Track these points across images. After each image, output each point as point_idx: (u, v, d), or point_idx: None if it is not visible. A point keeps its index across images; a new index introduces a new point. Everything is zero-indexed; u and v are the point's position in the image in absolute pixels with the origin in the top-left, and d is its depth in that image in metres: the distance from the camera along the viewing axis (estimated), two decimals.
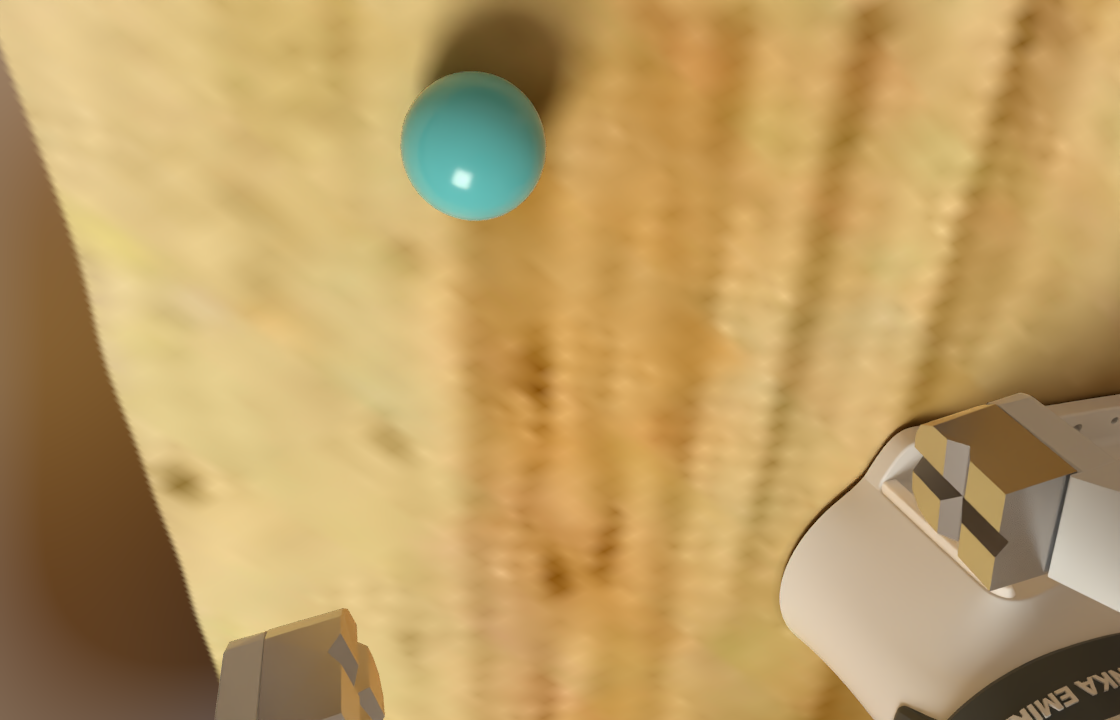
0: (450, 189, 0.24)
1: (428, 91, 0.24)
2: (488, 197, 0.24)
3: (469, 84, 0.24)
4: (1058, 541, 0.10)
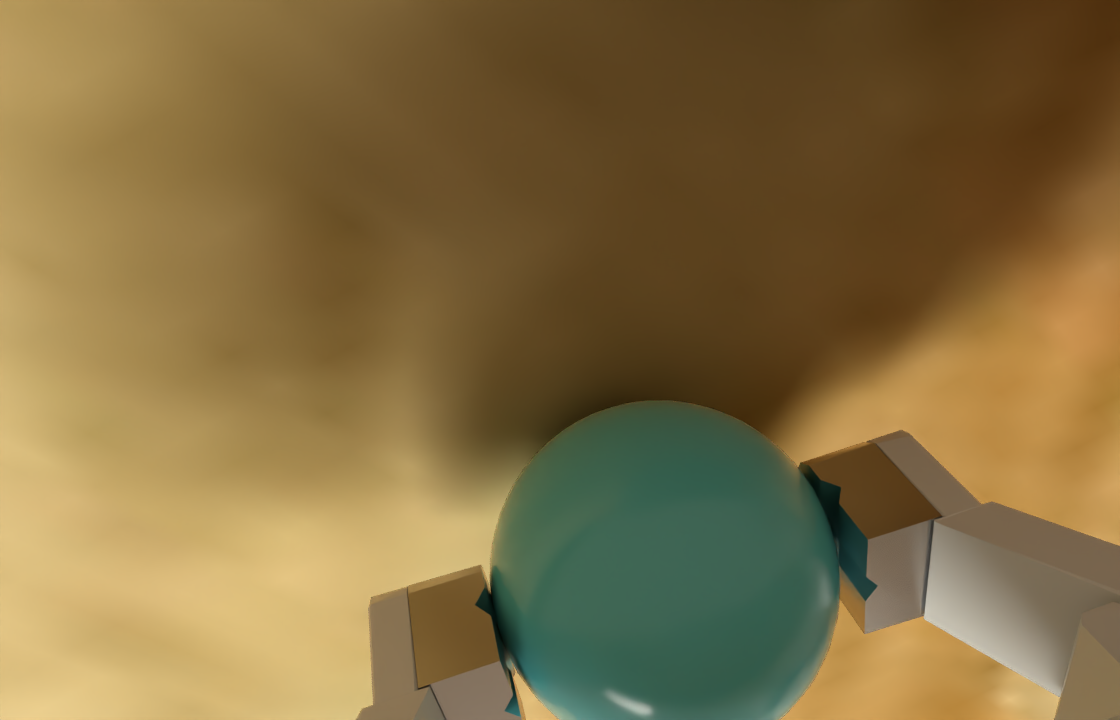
0: None
1: (574, 490, 0.09)
2: None
3: (688, 488, 0.09)
4: (929, 584, 0.10)
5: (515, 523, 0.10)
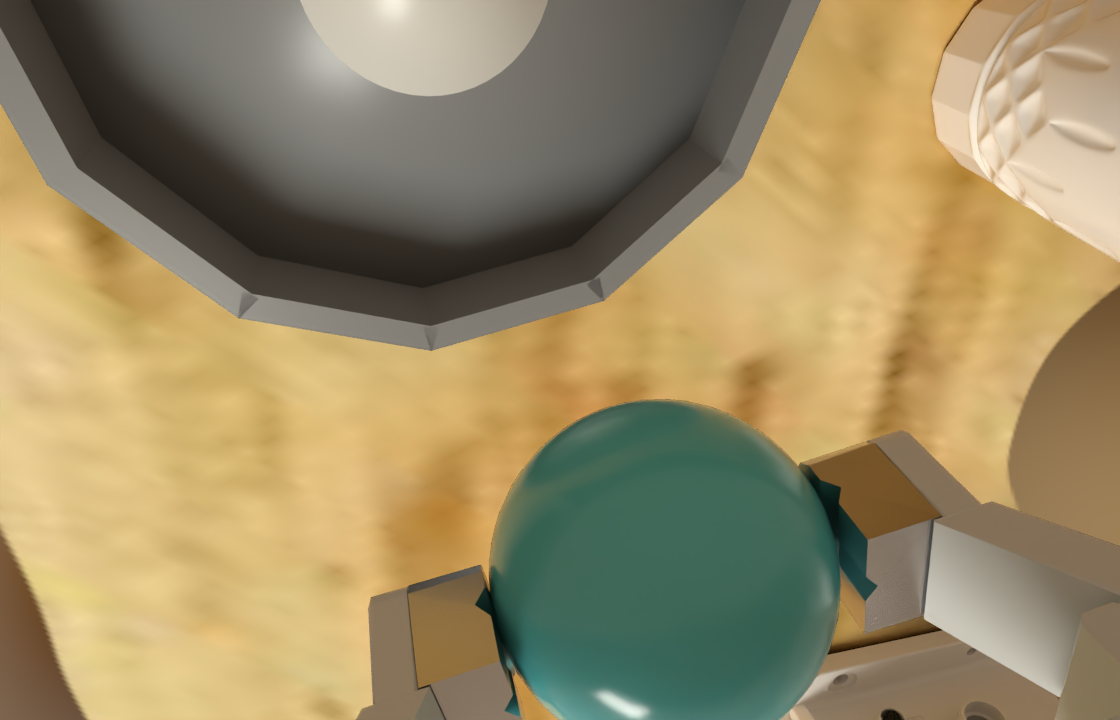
0: None
1: (573, 490, 0.09)
2: None
3: (688, 488, 0.09)
4: (929, 585, 0.10)
5: (514, 523, 0.10)
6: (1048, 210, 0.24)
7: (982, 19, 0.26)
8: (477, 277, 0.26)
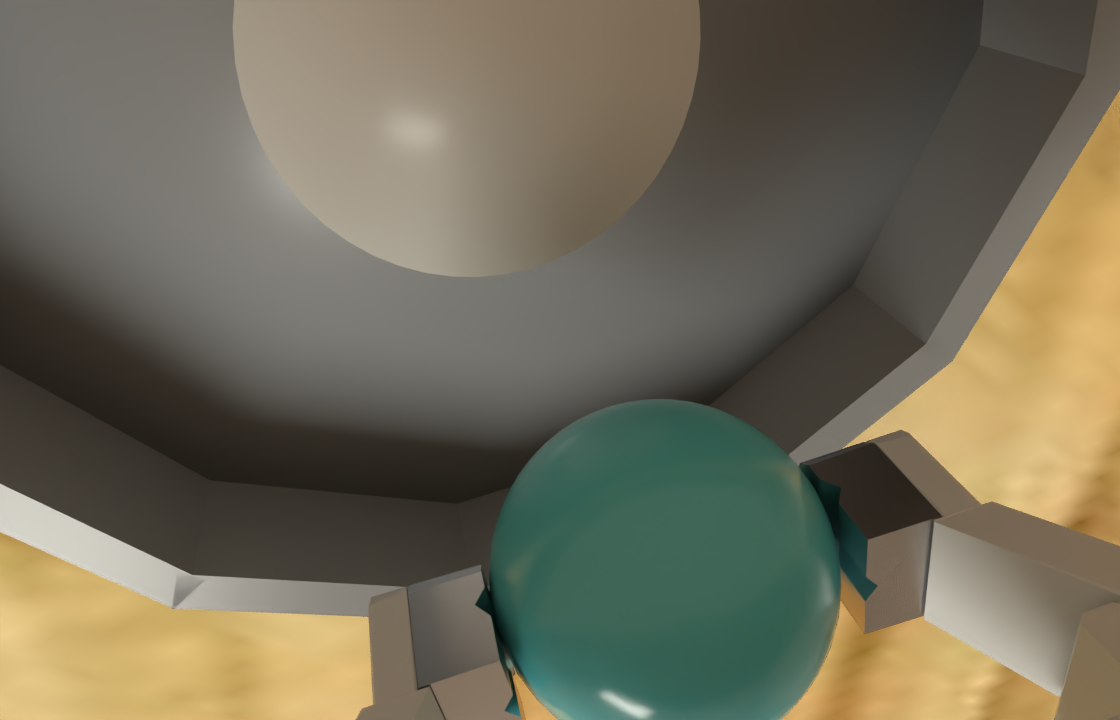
0: None
1: (573, 490, 0.09)
2: None
3: (688, 487, 0.09)
4: (929, 584, 0.10)
5: (514, 523, 0.10)
6: None
7: None
8: None
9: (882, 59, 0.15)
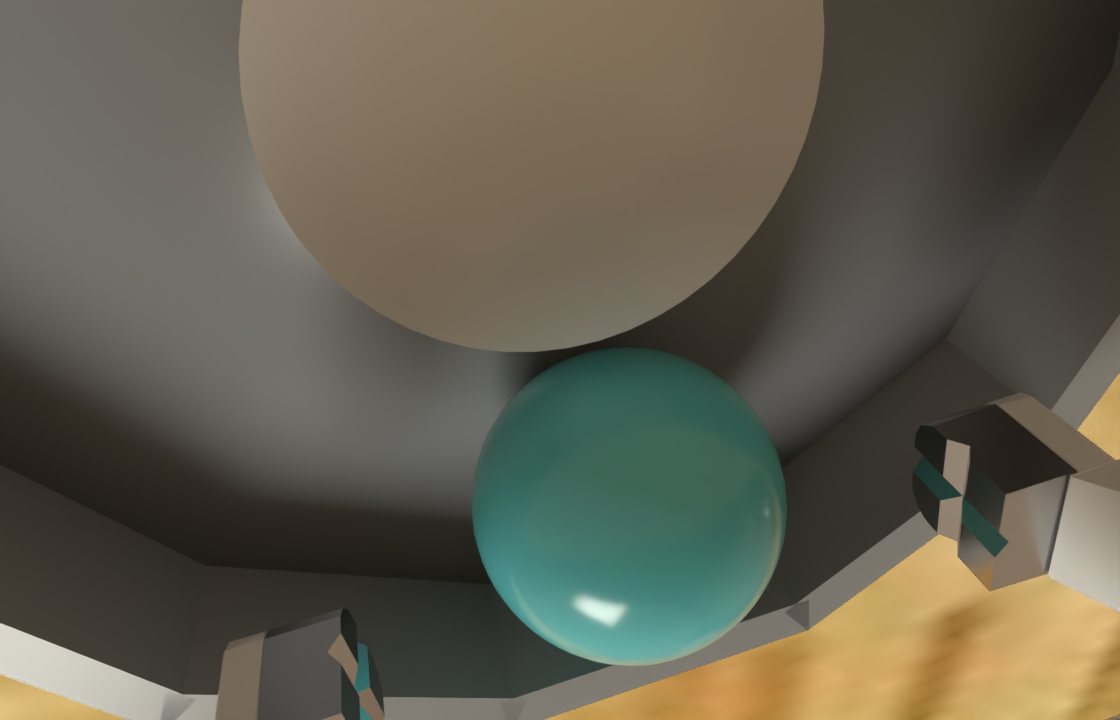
0: (595, 647, 0.10)
1: (544, 420, 0.10)
2: (678, 654, 0.11)
3: (645, 416, 0.10)
4: (1058, 541, 0.10)
5: (493, 452, 0.11)
6: None
7: None
8: None
9: (1001, 84, 0.12)
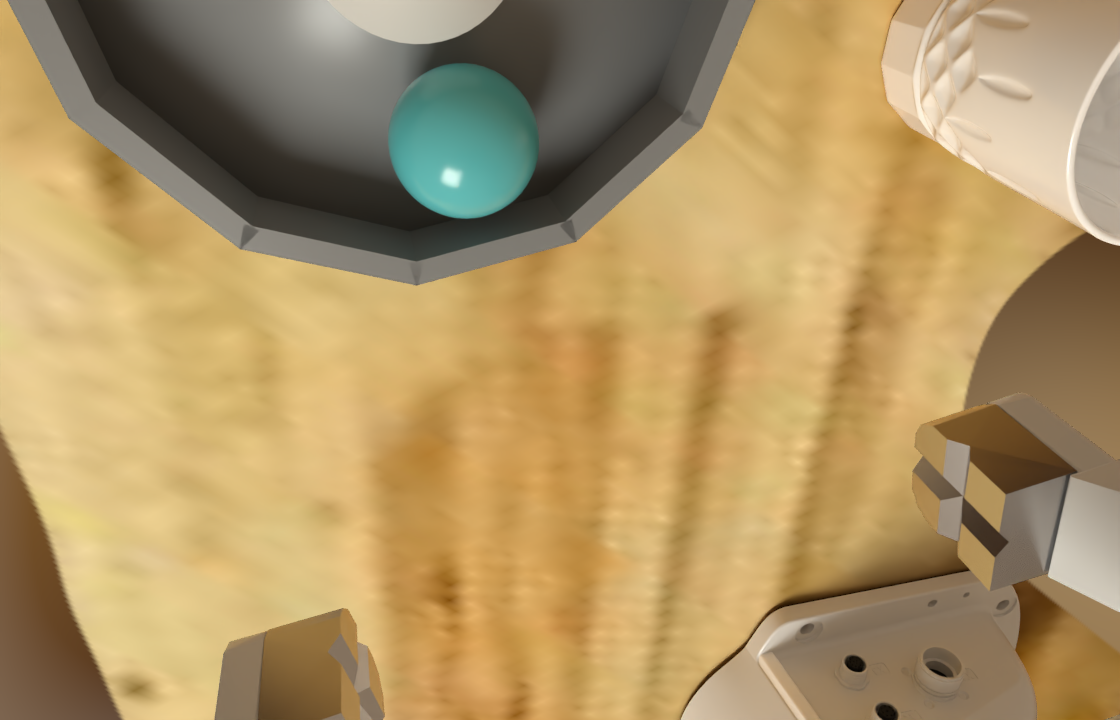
0: (437, 185, 0.23)
1: (417, 83, 0.23)
2: (476, 194, 0.23)
3: (459, 76, 0.23)
4: (1058, 541, 0.10)
5: (396, 104, 0.24)
6: (981, 160, 0.26)
7: None
8: (460, 221, 0.28)
9: None
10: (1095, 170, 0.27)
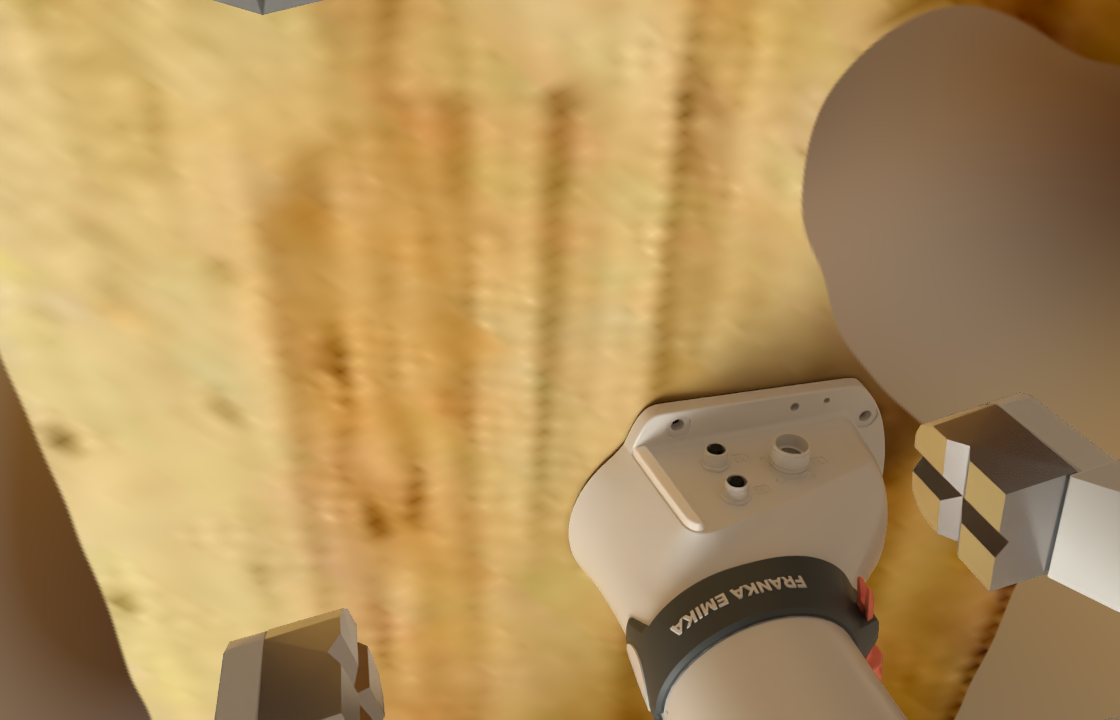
0: None
1: None
2: None
3: None
4: (1058, 541, 0.10)
5: None
6: None
7: None
8: None
9: None
10: None
